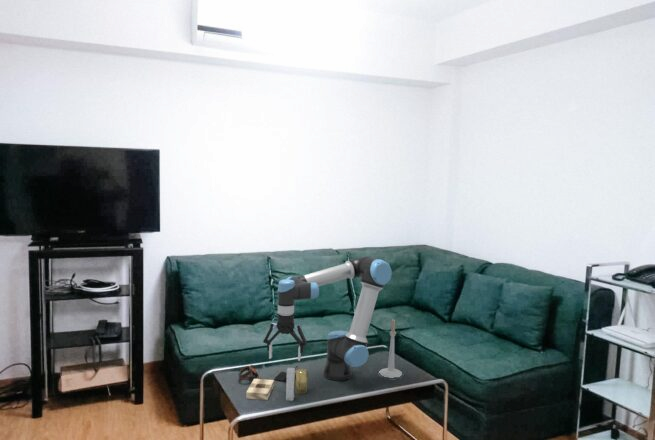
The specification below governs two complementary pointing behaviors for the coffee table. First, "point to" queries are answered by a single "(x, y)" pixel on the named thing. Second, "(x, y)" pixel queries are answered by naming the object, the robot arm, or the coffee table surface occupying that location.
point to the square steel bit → (290, 384)
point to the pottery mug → (250, 372)
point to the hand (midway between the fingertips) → (284, 358)
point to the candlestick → (391, 357)
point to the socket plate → (260, 389)
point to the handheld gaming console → (281, 377)
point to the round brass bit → (301, 381)
